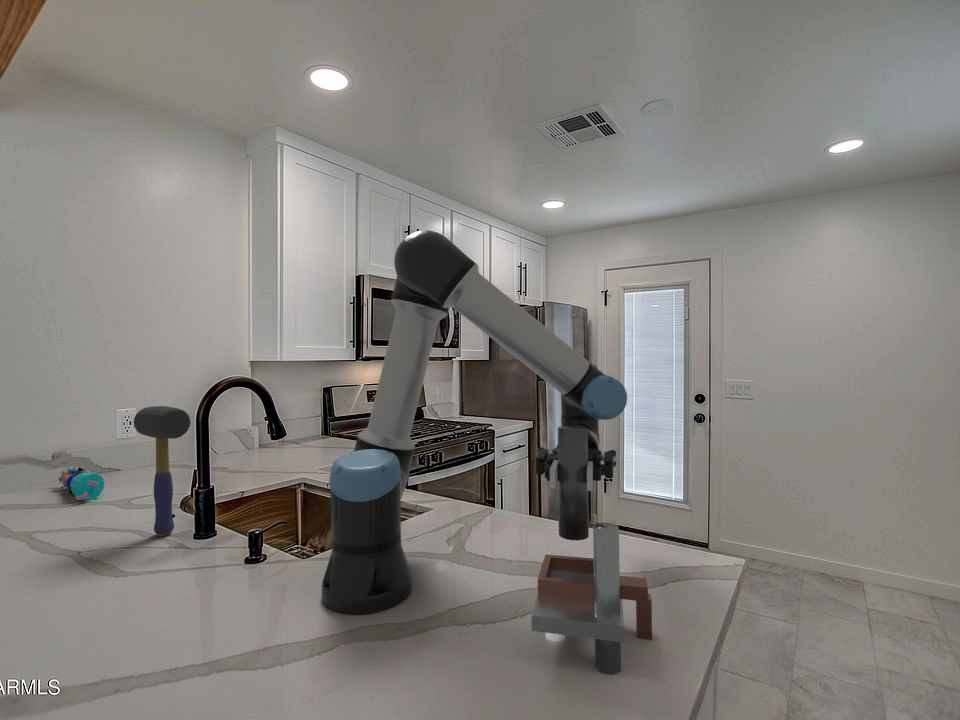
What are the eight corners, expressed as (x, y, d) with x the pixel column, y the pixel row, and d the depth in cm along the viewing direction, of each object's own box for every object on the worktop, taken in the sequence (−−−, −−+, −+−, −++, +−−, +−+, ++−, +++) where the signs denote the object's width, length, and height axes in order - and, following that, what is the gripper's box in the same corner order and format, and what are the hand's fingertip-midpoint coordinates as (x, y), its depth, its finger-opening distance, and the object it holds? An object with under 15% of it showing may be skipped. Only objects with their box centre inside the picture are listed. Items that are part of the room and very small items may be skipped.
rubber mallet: (132, 535, 113) (129, 406, 113) (166, 525, 120) (164, 403, 120) (161, 544, 107) (159, 408, 107) (195, 533, 114) (193, 405, 114)
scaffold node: (532, 665, 63) (530, 526, 63) (546, 607, 78) (544, 494, 78) (659, 683, 59) (656, 535, 59) (648, 619, 74) (647, 500, 74)
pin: (557, 539, 71) (556, 429, 71) (559, 528, 76) (558, 425, 75) (588, 541, 70) (587, 430, 70) (588, 530, 74) (587, 426, 74)
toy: (73, 502, 138) (43, 486, 155) (107, 504, 144) (74, 489, 162) (84, 473, 140) (52, 461, 157) (116, 476, 146) (82, 464, 164)
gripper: (627, 471, 88) (637, 511, 66) (531, 467, 92) (509, 503, 70) (626, 430, 88) (636, 455, 66) (530, 427, 92) (508, 451, 70)
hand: (570, 480), depth 68 cm, fingers closed on pin, 4 cm apart
